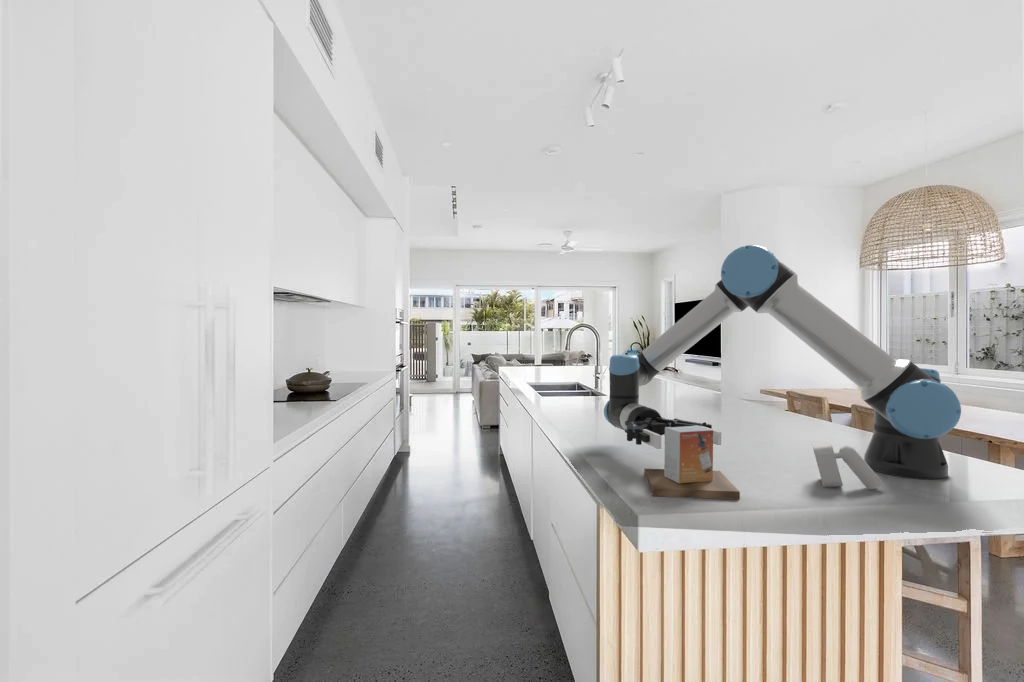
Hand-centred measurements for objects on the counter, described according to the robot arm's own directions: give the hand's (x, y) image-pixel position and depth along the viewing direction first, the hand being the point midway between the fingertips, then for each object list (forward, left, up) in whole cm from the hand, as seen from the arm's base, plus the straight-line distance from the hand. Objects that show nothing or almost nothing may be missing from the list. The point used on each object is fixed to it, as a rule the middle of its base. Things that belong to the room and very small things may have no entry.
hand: (690, 440), depth 104 cm
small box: (0, -1, -8) cm, 8 cm away
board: (0, -1, -10) cm, 10 cm away
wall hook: (-32, -5, -10) cm, 34 cm away
